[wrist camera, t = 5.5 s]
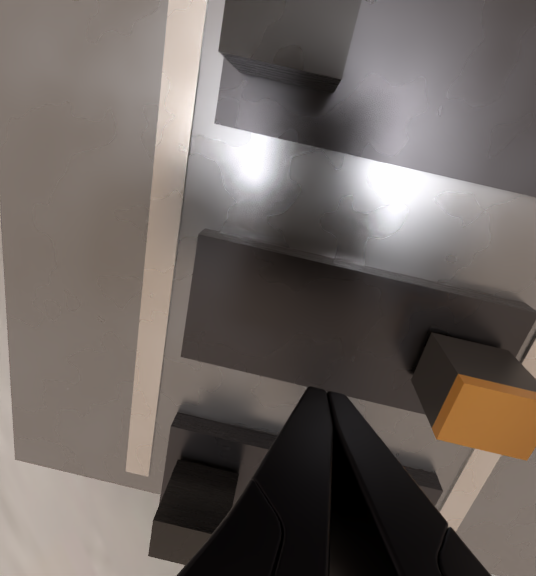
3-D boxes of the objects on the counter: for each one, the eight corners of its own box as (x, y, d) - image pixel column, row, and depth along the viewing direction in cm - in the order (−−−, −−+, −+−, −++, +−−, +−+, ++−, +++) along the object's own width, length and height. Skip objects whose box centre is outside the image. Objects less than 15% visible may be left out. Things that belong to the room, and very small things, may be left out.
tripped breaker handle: (483, 397, 12) (527, 460, 10) (410, 380, 12) (436, 439, 10) (508, 350, 12) (561, 406, 9) (431, 332, 12) (464, 383, 9)
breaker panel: (530, 552, 18) (608, 697, 13) (37, 434, 18) (-55, 536, 14) (871, 83, 10) (1325, 39, 6) (22, -107, 11) (-198, -296, 6)
